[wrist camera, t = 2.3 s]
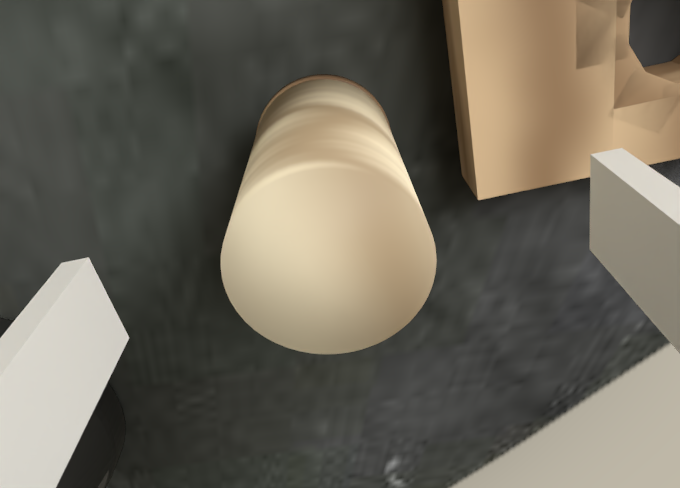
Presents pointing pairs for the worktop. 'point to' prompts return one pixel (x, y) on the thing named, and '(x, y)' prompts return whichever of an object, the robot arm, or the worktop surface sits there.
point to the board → (553, 91)
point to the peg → (326, 224)
